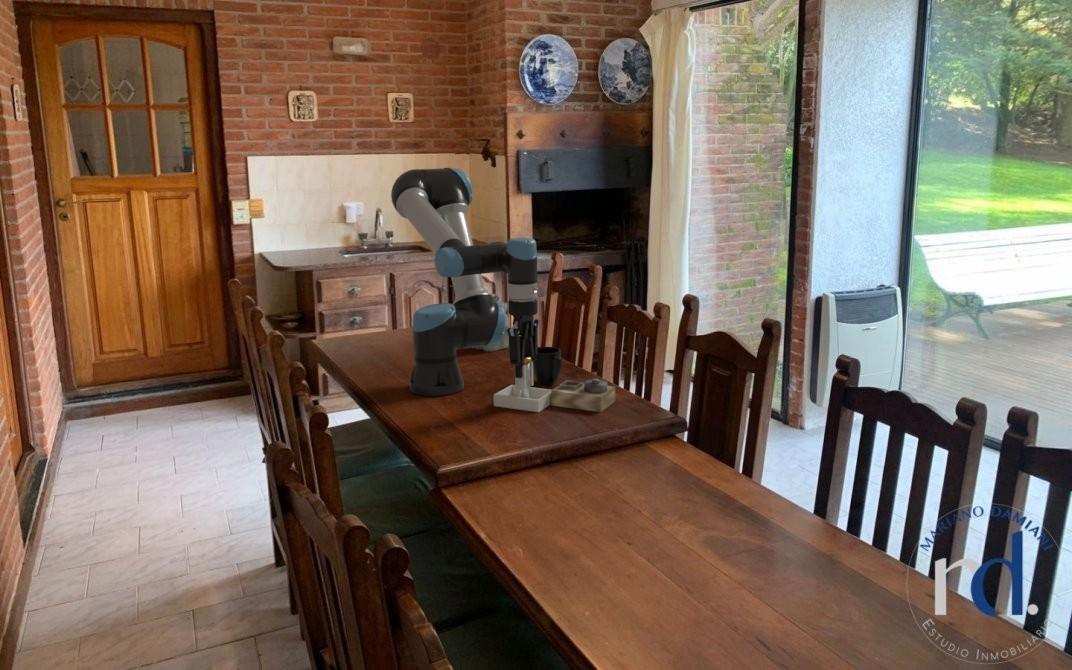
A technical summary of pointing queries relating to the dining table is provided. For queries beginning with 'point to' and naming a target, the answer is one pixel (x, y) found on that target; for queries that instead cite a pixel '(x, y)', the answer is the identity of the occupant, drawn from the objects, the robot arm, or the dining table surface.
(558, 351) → the mug
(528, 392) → the pin
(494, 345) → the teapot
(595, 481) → the dining table surface
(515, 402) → the tray
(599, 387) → the beige compartment box
